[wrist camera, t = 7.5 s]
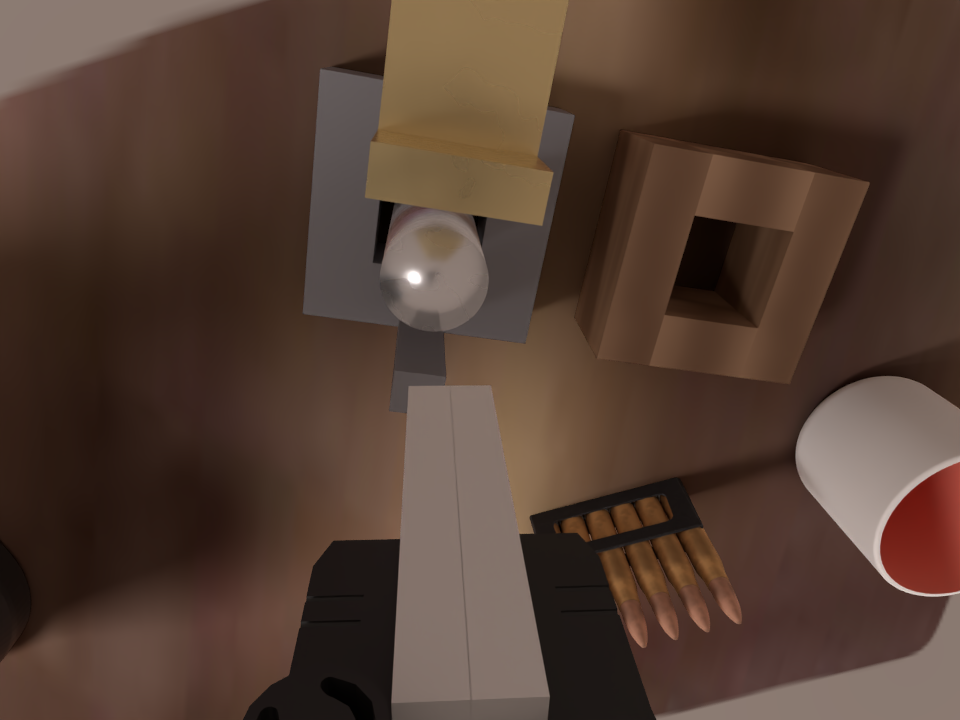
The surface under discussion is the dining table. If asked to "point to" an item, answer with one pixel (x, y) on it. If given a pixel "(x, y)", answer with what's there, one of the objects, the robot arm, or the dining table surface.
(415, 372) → the socket block
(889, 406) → the cup
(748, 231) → the frame
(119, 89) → the dining table surface
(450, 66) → the latch
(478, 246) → the peg
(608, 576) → the ammunition clip
